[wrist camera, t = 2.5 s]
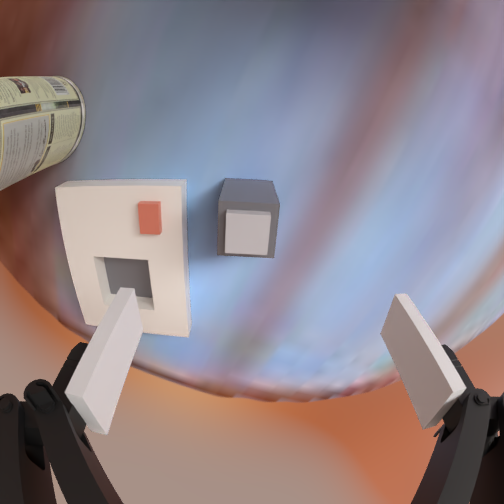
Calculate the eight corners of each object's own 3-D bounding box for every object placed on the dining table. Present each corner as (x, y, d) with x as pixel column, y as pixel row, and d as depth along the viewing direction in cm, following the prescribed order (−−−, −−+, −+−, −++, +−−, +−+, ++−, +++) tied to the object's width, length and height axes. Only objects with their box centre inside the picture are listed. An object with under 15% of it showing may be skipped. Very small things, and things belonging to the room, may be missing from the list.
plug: (225, 178, 28) (217, 203, 21) (272, 180, 28) (280, 207, 21) (223, 221, 30) (216, 259, 23) (268, 223, 30) (274, 263, 23)
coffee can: (14, 157, 25) (-70, 197, 13) (29, 73, 21) (-64, 80, 8) (77, 175, 27) (-11, 227, 15) (97, 80, 23) (1, 78, 10)
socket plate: (66, 181, 27) (50, 189, 24) (186, 179, 28) (179, 188, 25) (93, 312, 35) (83, 328, 33) (191, 323, 36) (187, 341, 33)
